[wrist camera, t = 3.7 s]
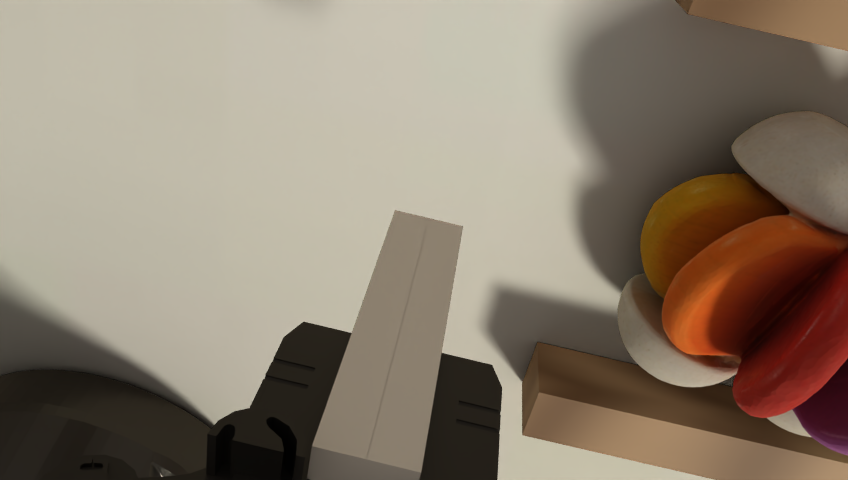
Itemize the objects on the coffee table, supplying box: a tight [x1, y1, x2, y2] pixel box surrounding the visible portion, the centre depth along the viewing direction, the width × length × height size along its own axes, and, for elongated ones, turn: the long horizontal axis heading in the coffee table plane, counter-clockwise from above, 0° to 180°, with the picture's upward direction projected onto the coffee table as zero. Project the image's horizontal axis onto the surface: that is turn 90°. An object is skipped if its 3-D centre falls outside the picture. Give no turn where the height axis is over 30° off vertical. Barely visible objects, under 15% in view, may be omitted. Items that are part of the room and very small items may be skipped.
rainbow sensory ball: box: [618, 111, 848, 455], centre depth 18 cm, size 8×10×7 cm
